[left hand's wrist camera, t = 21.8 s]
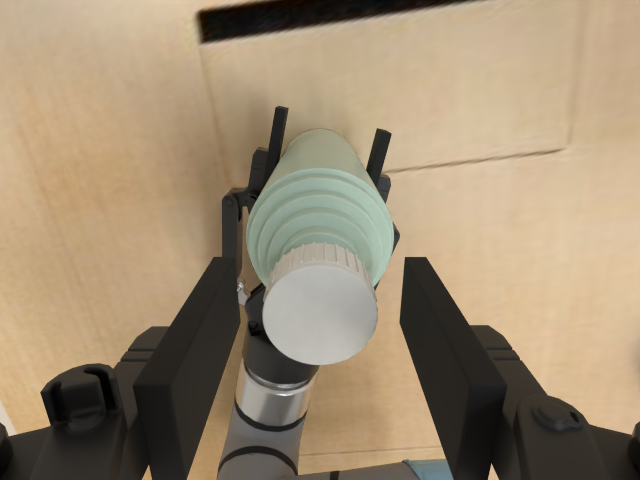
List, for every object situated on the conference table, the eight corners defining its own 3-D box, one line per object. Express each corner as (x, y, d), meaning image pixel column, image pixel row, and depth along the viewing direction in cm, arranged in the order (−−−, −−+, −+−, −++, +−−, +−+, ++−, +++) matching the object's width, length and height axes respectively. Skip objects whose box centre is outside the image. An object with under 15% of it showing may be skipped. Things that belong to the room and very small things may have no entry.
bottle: (351, 208, 39) (402, 400, 15) (278, 200, 39) (210, 380, 15) (363, 134, 36) (449, 219, 12) (285, 123, 36) (217, 190, 12)
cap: (289, 344, 15) (284, 379, 14) (252, 258, 14) (242, 284, 12) (383, 317, 15) (392, 349, 13) (354, 226, 14) (360, 248, 12)
